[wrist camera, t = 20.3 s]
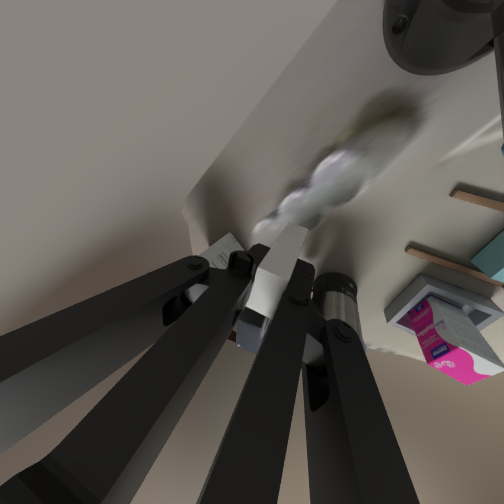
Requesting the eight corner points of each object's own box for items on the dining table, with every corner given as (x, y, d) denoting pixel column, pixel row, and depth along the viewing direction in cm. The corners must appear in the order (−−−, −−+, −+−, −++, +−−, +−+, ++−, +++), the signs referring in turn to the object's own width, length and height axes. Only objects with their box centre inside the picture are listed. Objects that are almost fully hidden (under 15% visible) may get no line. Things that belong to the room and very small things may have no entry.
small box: (270, 325, 56) (257, 356, 47) (250, 317, 58) (234, 346, 49) (274, 299, 50) (261, 329, 42) (252, 292, 52) (235, 319, 44)
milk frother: (367, 286, 39) (380, 347, 27) (326, 326, 48) (322, 385, 36) (305, 254, 41) (292, 297, 29) (277, 298, 50) (258, 345, 38)
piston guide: (454, 189, 27) (466, 192, 25) (595, 227, 24) (625, 236, 21) (404, 250, 33) (409, 258, 31) (511, 288, 30) (527, 300, 27)
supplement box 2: (428, 292, 34) (462, 346, 24) (463, 308, 33) (512, 371, 23) (404, 311, 37) (427, 365, 28) (435, 326, 36) (469, 388, 27)
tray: (420, 273, 34) (427, 284, 31) (490, 299, 31) (505, 314, 29) (383, 311, 40) (387, 323, 37) (440, 335, 37) (449, 350, 35)
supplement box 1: (229, 273, 52) (190, 316, 39) (208, 247, 51) (161, 283, 37) (253, 259, 47) (218, 304, 33) (230, 230, 46) (184, 264, 32)
